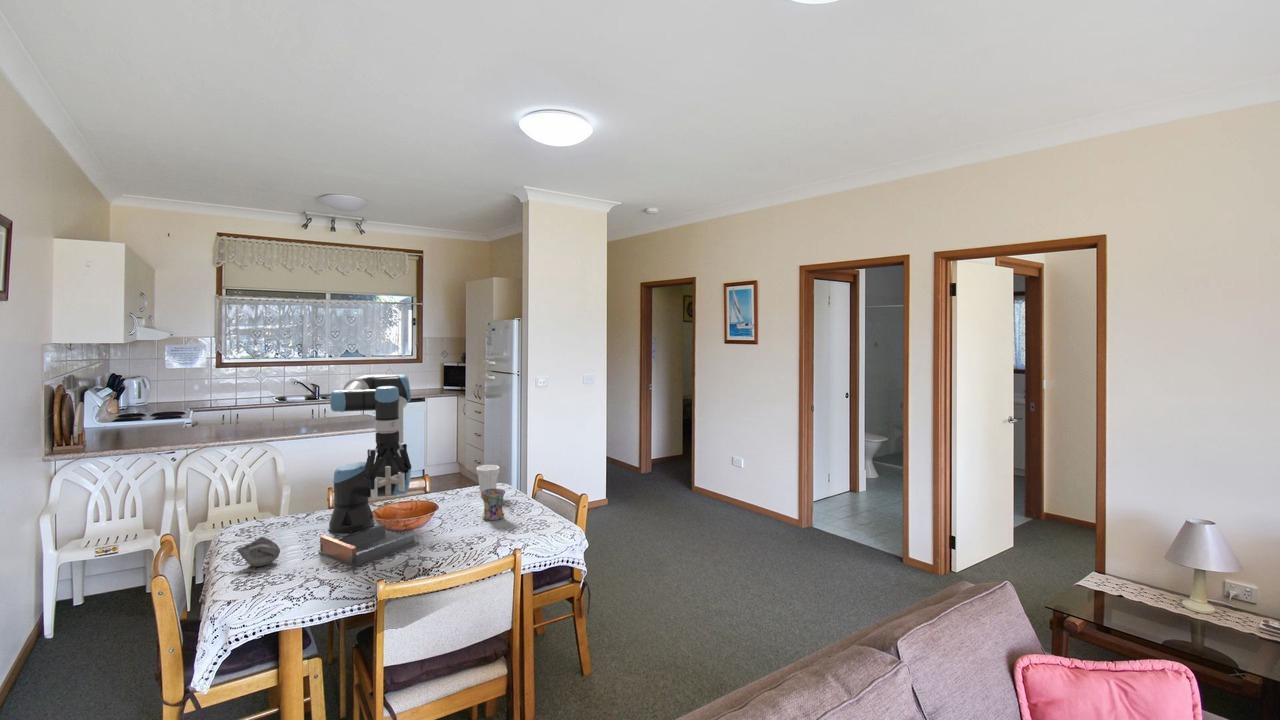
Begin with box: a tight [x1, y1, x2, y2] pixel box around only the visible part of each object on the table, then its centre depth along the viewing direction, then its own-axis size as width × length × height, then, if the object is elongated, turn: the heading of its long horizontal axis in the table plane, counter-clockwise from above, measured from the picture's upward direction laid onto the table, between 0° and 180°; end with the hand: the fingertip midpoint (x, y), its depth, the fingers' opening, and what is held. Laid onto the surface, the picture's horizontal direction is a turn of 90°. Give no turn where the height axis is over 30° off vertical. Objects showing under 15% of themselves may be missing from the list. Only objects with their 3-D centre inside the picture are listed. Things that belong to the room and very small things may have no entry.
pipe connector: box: [375, 466, 402, 497], centre depth 204 cm, size 10×10×10 cm
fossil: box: [237, 536, 281, 567], centre depth 186 cm, size 11×9×8 cm
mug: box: [480, 487, 506, 521], centre depth 233 cm, size 12×9×11 cm
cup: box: [476, 464, 501, 498], centre depth 260 cm, size 10×10×13 cm
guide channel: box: [318, 523, 420, 569], centre depth 200 cm, size 24×20×6 cm
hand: (388, 494), depth 205 cm, fingers closed on pipe connector, 10 cm apart
